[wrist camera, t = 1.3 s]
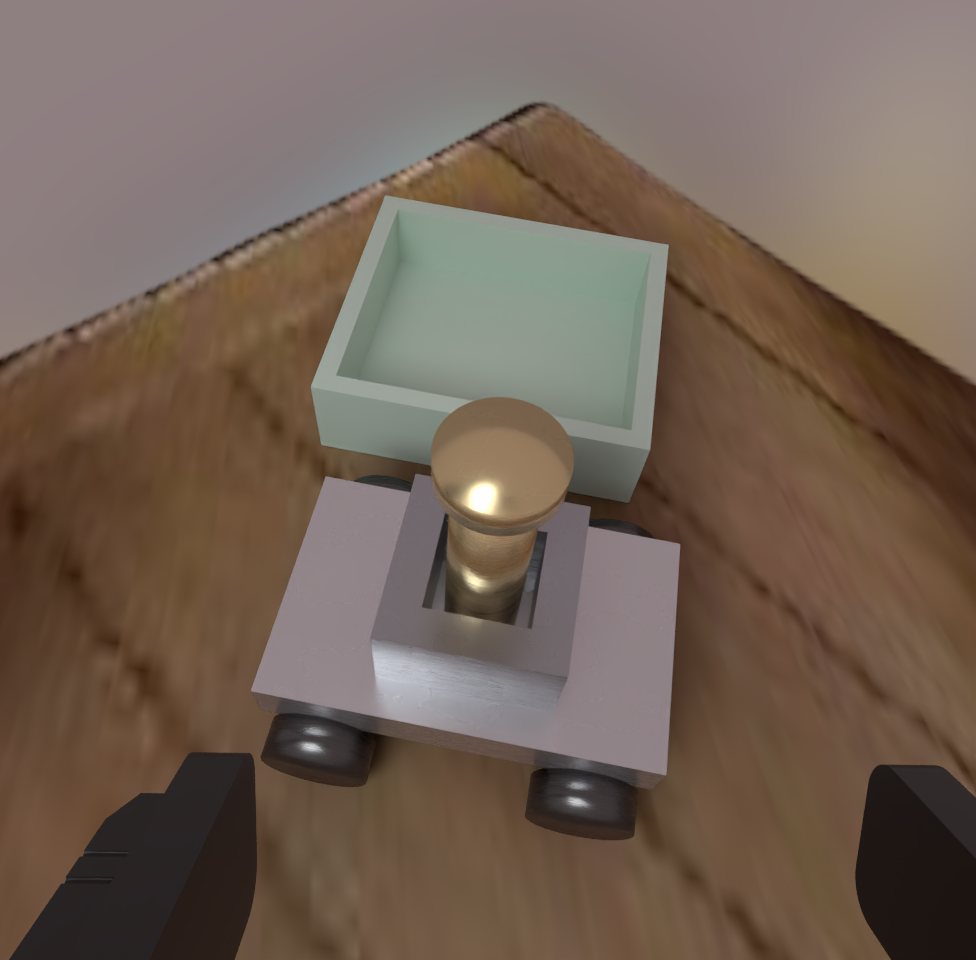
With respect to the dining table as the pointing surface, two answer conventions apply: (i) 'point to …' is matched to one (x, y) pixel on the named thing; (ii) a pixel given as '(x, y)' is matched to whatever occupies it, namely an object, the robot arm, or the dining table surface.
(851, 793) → the dining table surface
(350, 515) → the trolley
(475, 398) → the tray
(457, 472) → the pin
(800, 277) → the dining table surface
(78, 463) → the dining table surface
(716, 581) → the dining table surface
